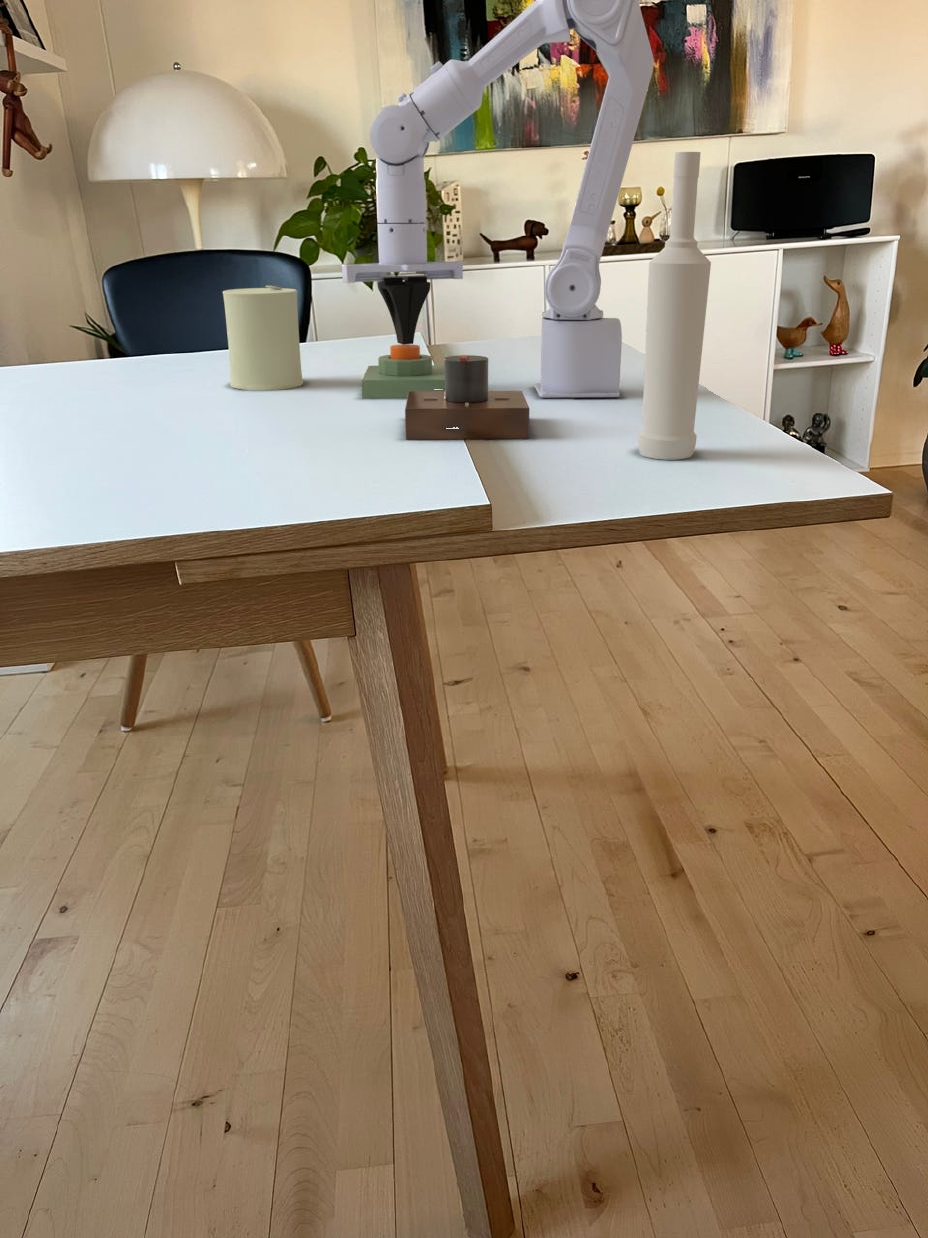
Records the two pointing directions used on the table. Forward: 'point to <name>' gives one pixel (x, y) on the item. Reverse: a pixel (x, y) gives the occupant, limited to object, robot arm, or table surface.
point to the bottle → (675, 326)
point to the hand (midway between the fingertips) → (405, 343)
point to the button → (405, 352)
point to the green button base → (401, 377)
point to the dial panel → (467, 416)
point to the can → (263, 338)
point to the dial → (466, 378)
